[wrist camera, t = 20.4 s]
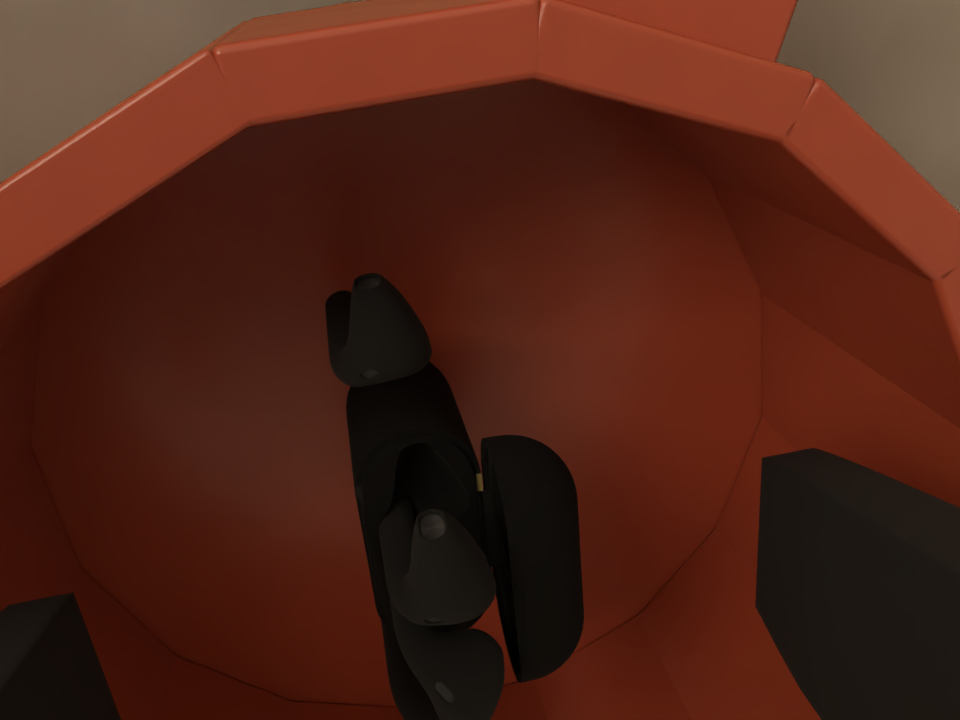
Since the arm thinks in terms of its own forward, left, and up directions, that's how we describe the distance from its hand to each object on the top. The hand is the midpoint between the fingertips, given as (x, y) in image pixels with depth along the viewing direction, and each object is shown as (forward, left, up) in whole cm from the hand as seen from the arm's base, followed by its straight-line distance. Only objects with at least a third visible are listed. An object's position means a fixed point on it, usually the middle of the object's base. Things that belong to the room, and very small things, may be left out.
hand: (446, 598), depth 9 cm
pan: (+1, 0, -5) cm, 5 cm away
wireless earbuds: (+1, 0, -5) cm, 5 cm away
